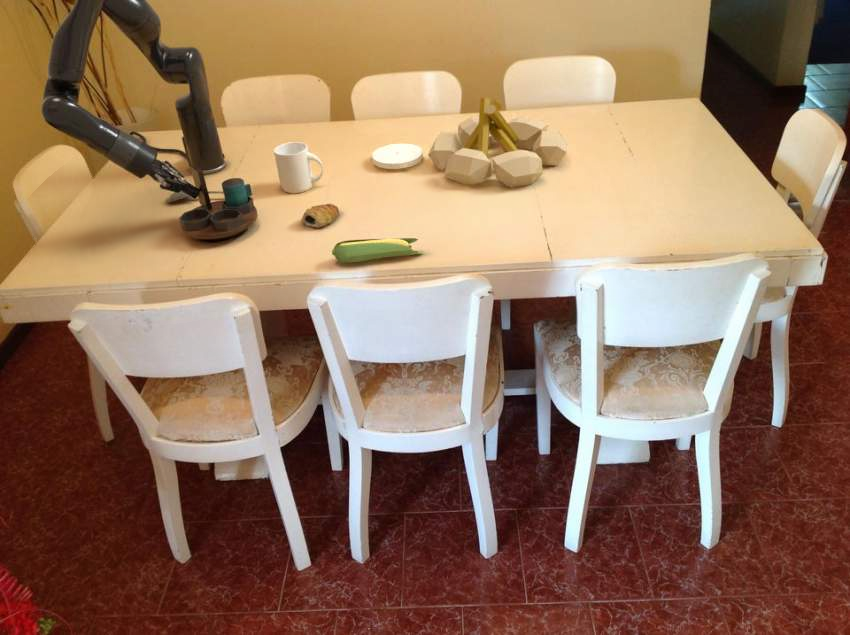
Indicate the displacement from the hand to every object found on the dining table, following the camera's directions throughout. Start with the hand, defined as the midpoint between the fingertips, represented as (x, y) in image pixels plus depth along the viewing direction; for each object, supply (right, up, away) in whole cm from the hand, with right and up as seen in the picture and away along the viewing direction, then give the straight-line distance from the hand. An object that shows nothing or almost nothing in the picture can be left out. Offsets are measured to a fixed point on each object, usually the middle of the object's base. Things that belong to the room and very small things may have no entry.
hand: (197, 194), depth 176 cm
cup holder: (+5, -6, -1) cm, 8 cm away
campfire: (+74, +12, +21) cm, 78 cm away
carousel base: (+6, -8, 0) cm, 10 cm away
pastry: (+30, -6, 0) cm, 30 cm away
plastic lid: (+47, +13, +26) cm, 56 cm away
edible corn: (+45, -17, -16) cm, 51 cm away
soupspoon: (-2, +33, -10) cm, 34 cm away
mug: (+23, +5, +17) cm, 29 cm away
